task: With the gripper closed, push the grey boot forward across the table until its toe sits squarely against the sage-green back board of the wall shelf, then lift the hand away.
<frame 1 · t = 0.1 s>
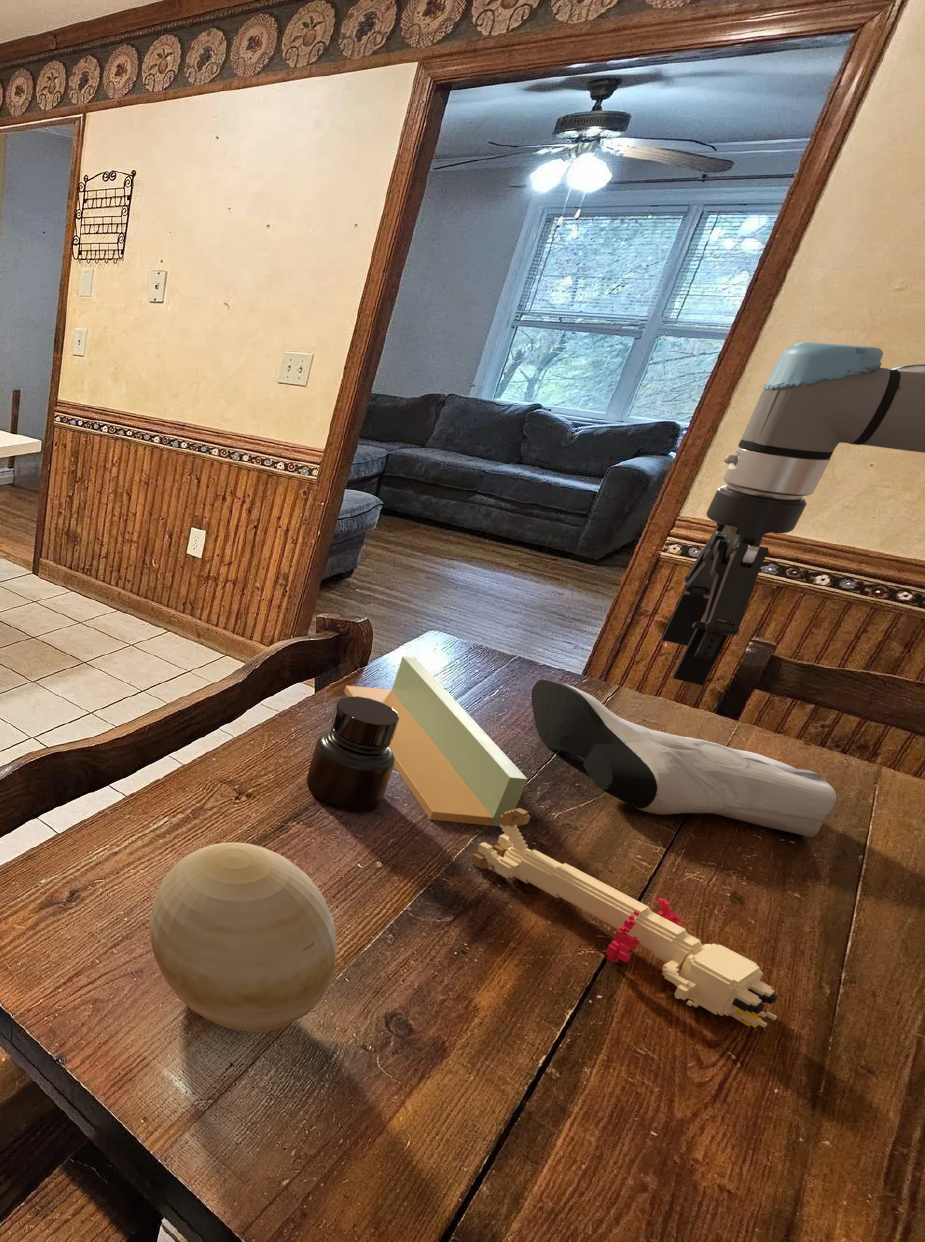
hand: (680, 660, 97), 18 cm above the table, tool pointing down, fingers open, 13 cm apart
ink bottle: (342, 793, 100), on the table
grey boot: (654, 774, 107), on the table
wall shelf: (440, 753, 109), on the table
decorative ball: (223, 997, 70), on the table
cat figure: (603, 937, 79), on the table
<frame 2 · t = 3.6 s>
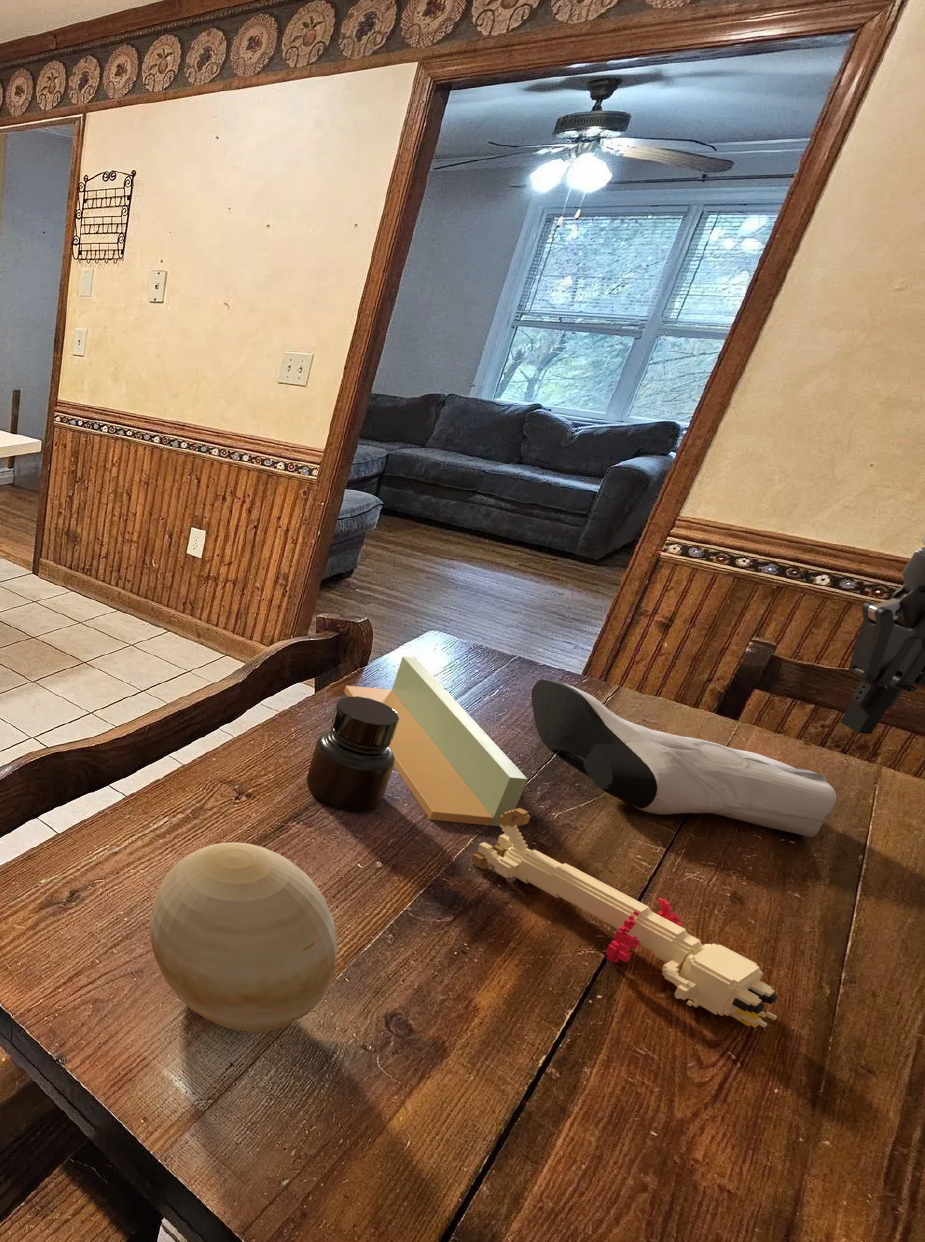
hand: (855, 727, 102), 9 cm above the table, tool pointing down, fingers closed
nothing on the table moved.
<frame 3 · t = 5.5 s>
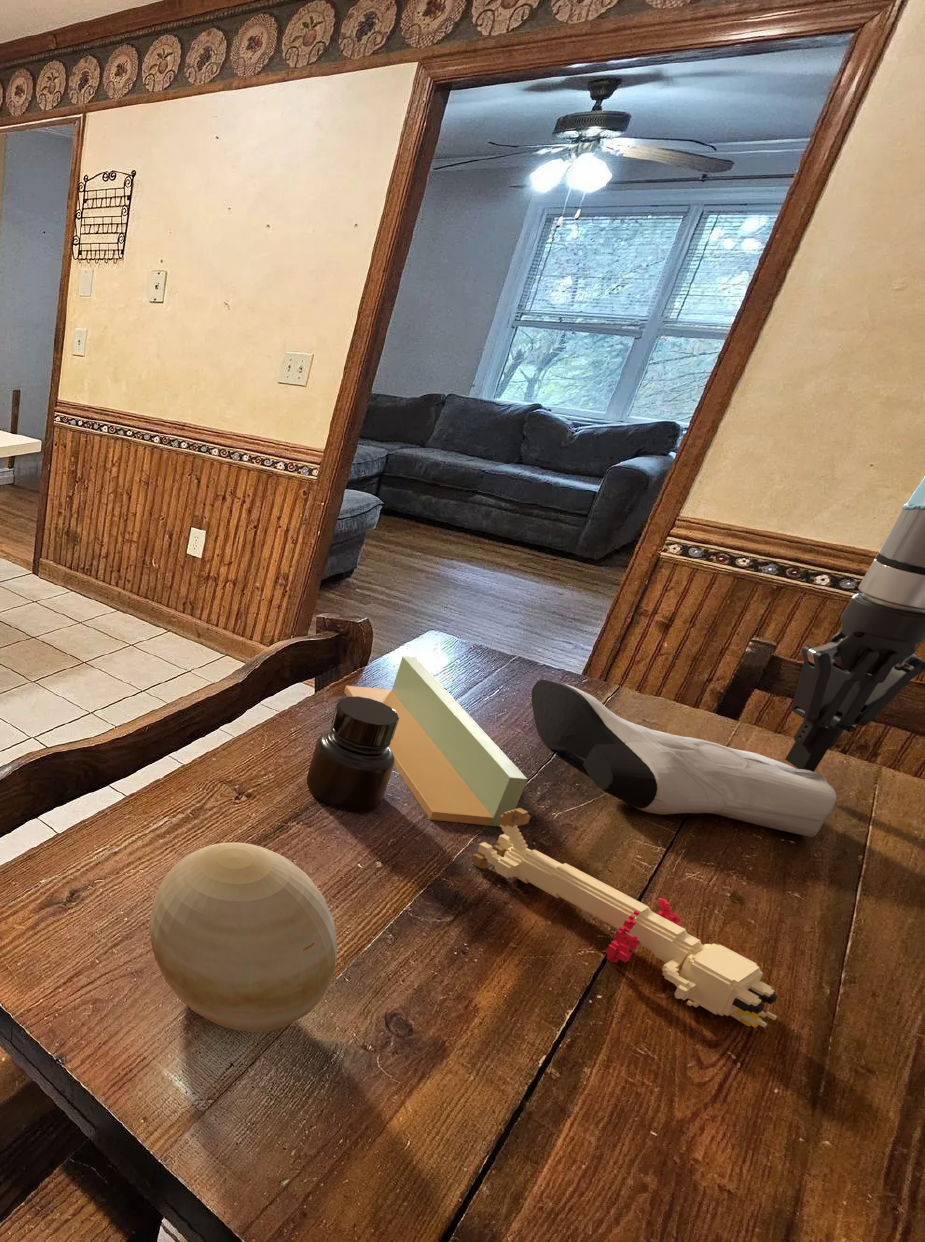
hand: (799, 765, 105), 3 cm above the table, tool pointing down, fingers closed
nothing on the table moved.
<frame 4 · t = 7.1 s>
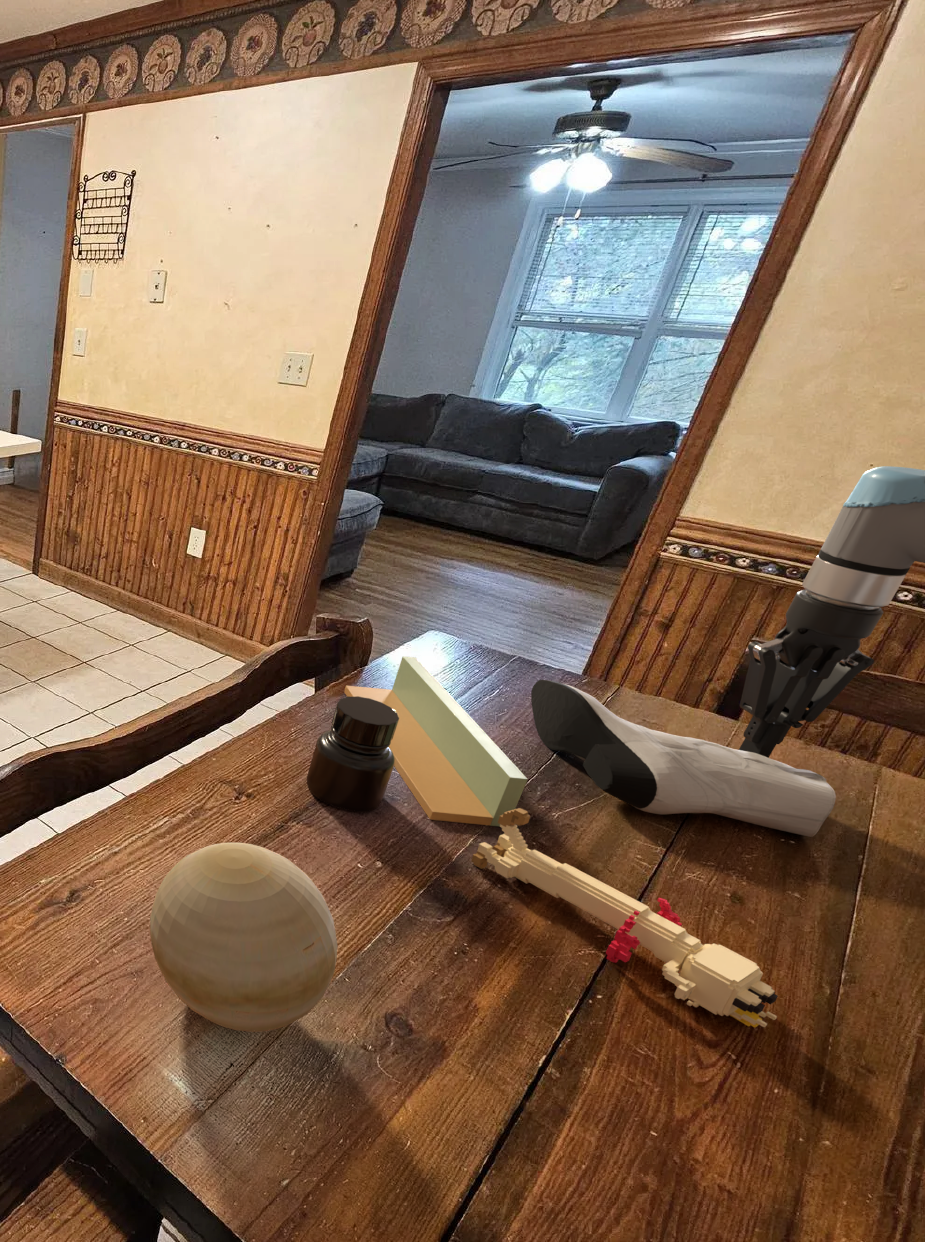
hand: (748, 761, 105), 3 cm above the table, tool pointing down, fingers closed
grey boot: (653, 774, 107), on the table, touching gripper
everything else where it was.
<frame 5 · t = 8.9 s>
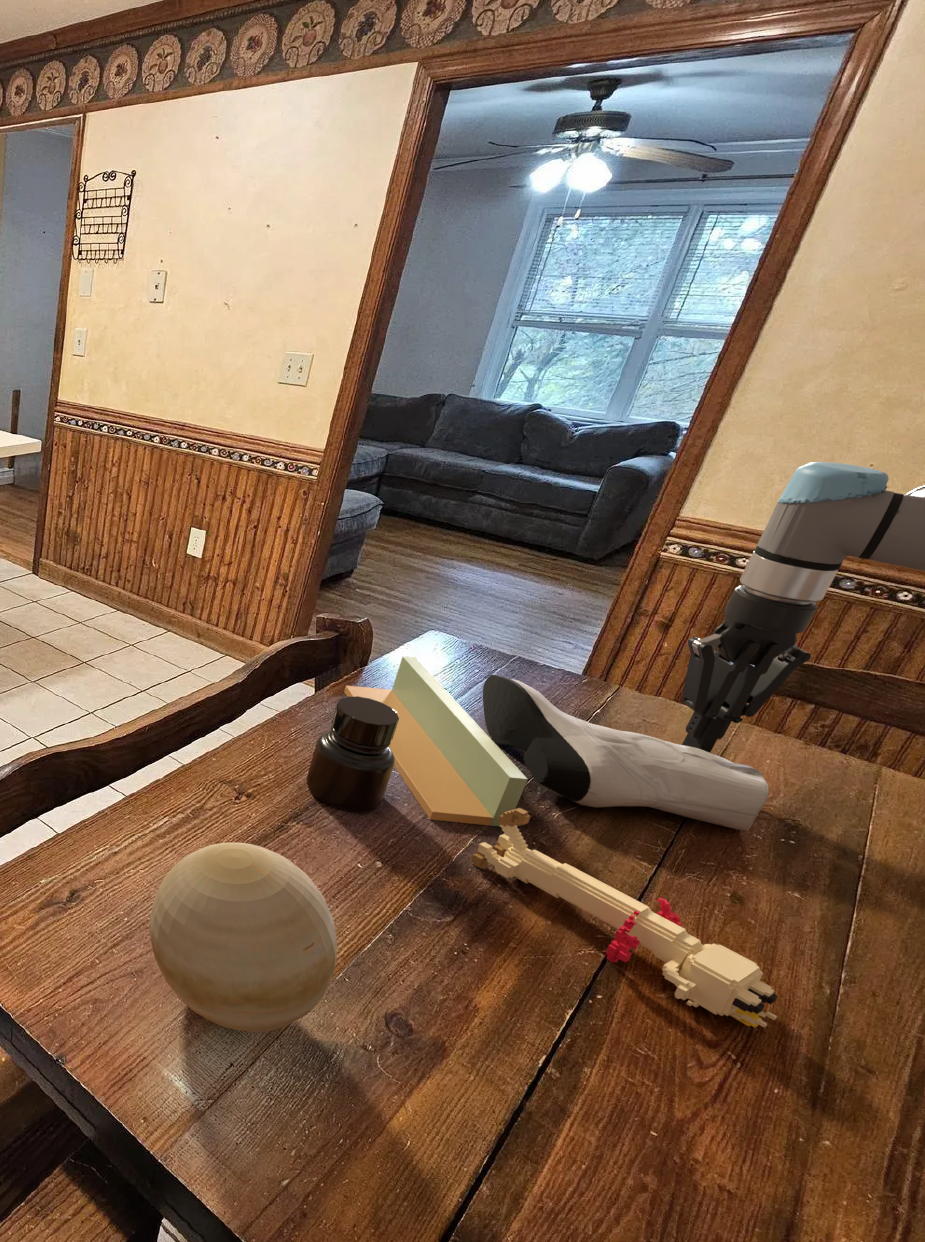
hand: (691, 756, 106), 3 cm above the table, tool pointing down, fingers closed
grey boot: (598, 768, 108), on the table, touching gripper
everything else where it was.
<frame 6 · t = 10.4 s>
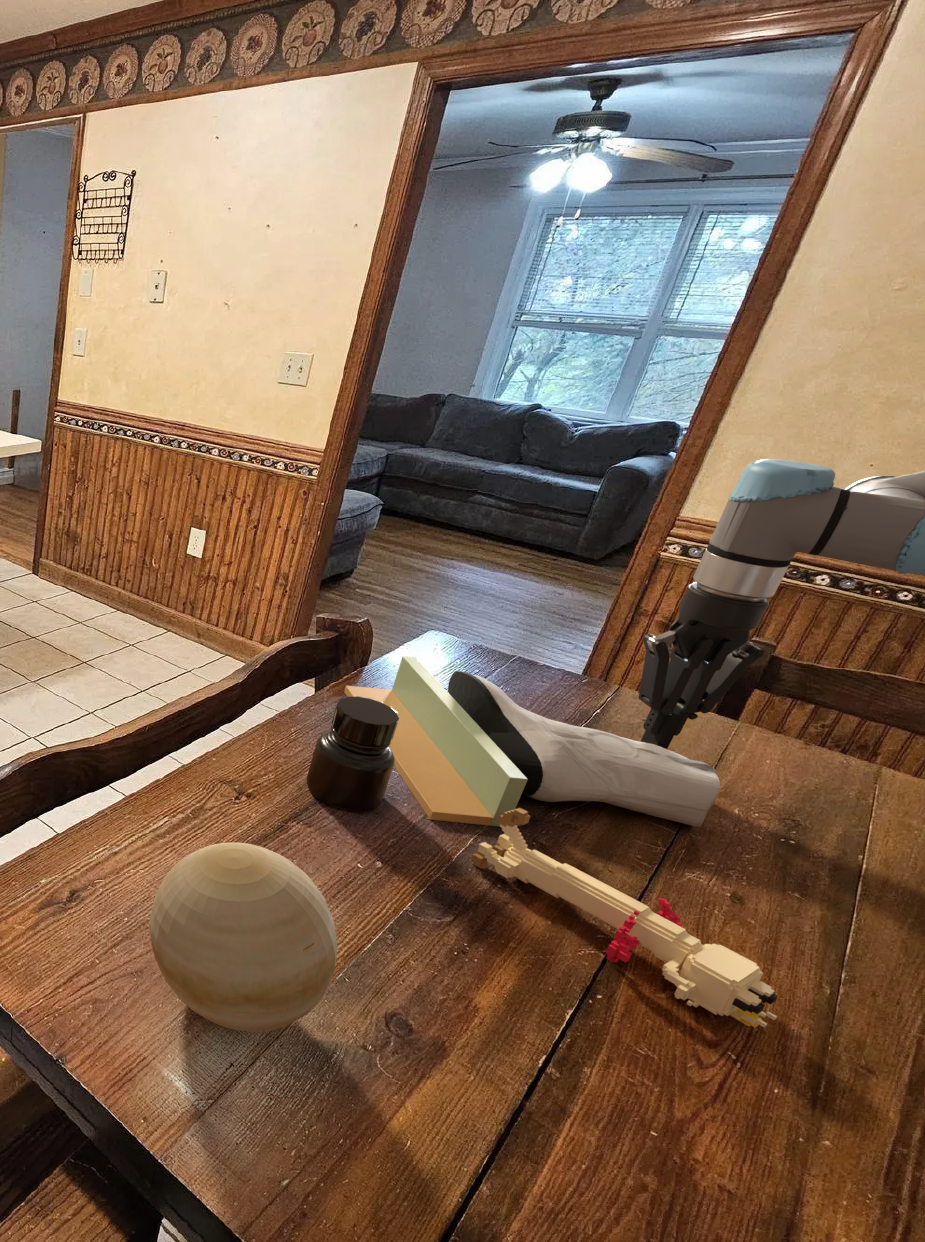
hand: (649, 753, 106), 3 cm above the table, tool pointing down, fingers closed
grey boot: (557, 764, 108), on the table, touching gripper
everything else where it was.
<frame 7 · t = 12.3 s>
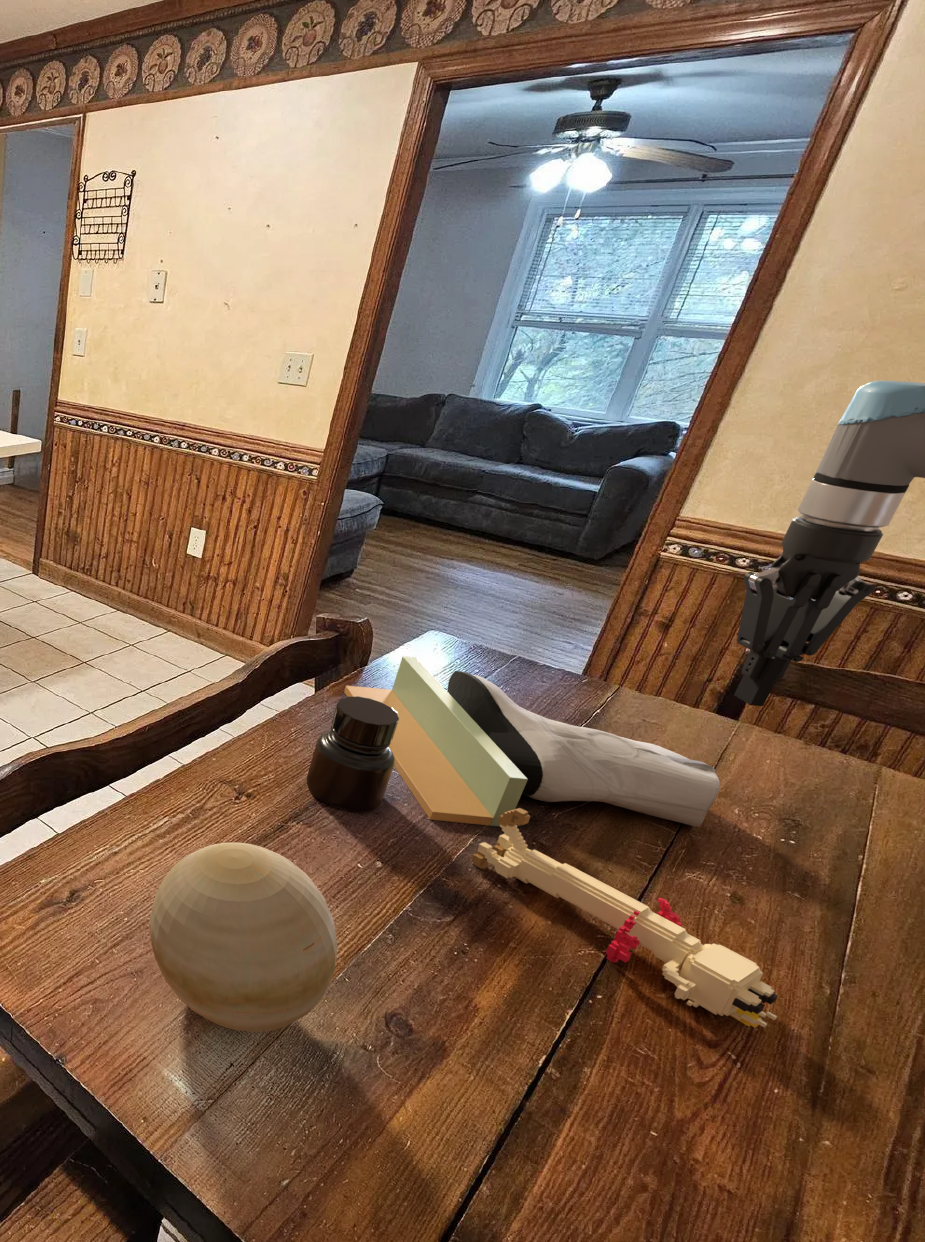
hand: (748, 700, 101), 12 cm above the table, tool pointing down, fingers closed
grey boot: (557, 764, 108), on the table
everything else where it was.
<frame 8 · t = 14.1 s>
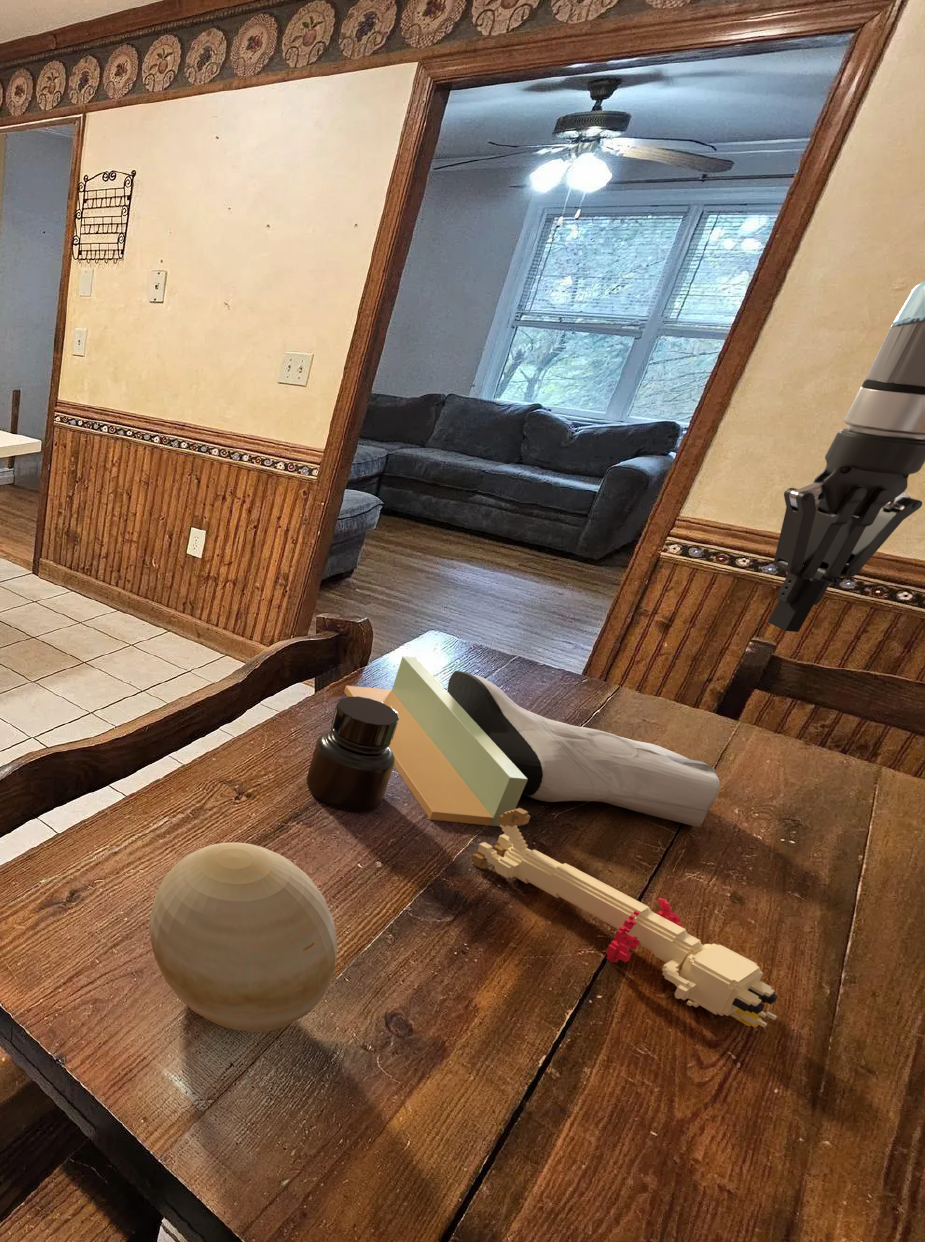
hand: (782, 626, 97), 22 cm above the table, tool pointing down, fingers closed
nothing on the table moved.
at the end: grey boot moved 12.5 cm from its start; grey boot inside the target area (1.0 cm from its centre), on the table; grey boot tilted 2° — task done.
